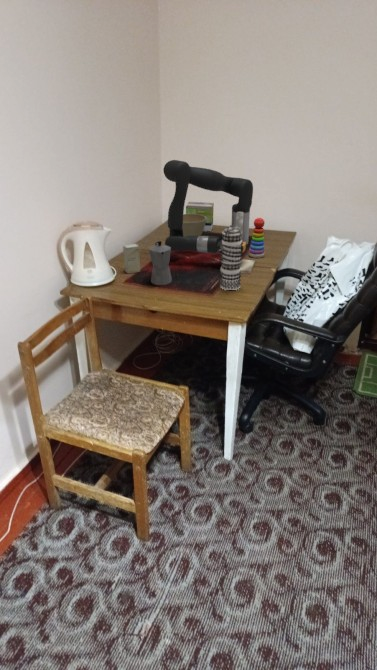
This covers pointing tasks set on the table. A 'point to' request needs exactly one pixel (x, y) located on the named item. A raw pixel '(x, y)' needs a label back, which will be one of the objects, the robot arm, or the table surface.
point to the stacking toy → (257, 239)
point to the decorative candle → (231, 258)
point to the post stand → (244, 264)
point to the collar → (244, 246)
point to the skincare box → (131, 258)
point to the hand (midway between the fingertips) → (244, 247)
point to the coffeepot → (160, 264)
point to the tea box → (202, 212)
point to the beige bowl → (193, 224)
